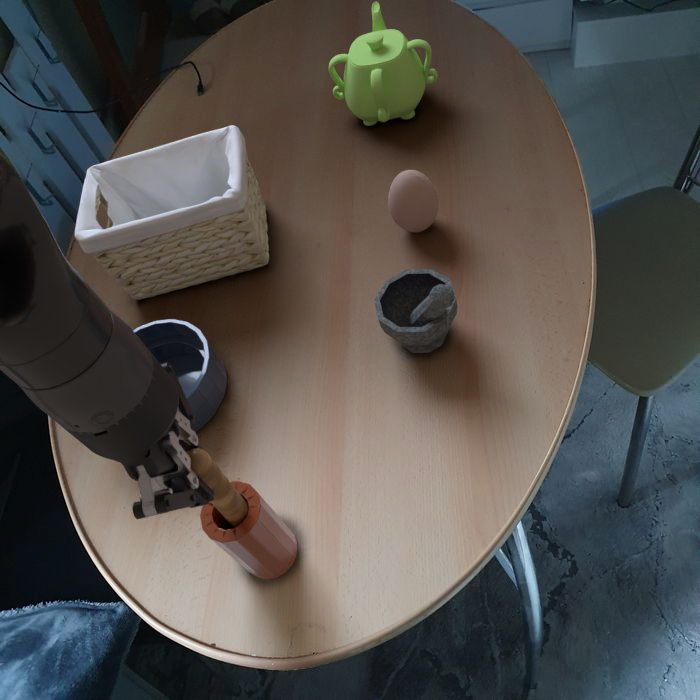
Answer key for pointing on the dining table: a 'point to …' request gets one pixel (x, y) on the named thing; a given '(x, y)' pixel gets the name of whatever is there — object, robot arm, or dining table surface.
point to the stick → (219, 487)
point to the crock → (253, 535)
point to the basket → (175, 214)
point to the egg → (413, 201)
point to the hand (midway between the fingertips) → (202, 483)
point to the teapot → (383, 74)
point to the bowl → (188, 364)
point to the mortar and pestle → (417, 309)
